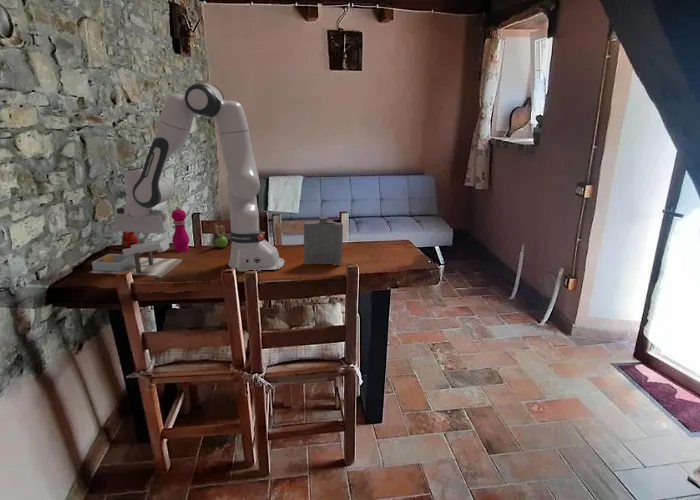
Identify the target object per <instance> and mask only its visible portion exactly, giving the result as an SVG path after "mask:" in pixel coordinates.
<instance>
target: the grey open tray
mask: <svg viewBox="0 0 700 500" xmlns="http://www.w3.org/2000/svg"><path fill="white" fill-rule="evenodd" d="M105 256H112V257H113V258H114V262H103V258H104V257H105ZM133 264H135V259H134V254H132V255H127V256H124V254H117V253H107V254H105V255H103V256H101V257H100V258H97V259H95V260H93V261H91V266H92V270H93V271H102V272H119V271H123V270H125V269H127V268H128V267H130V266H132V265H133Z"/></svg>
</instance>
